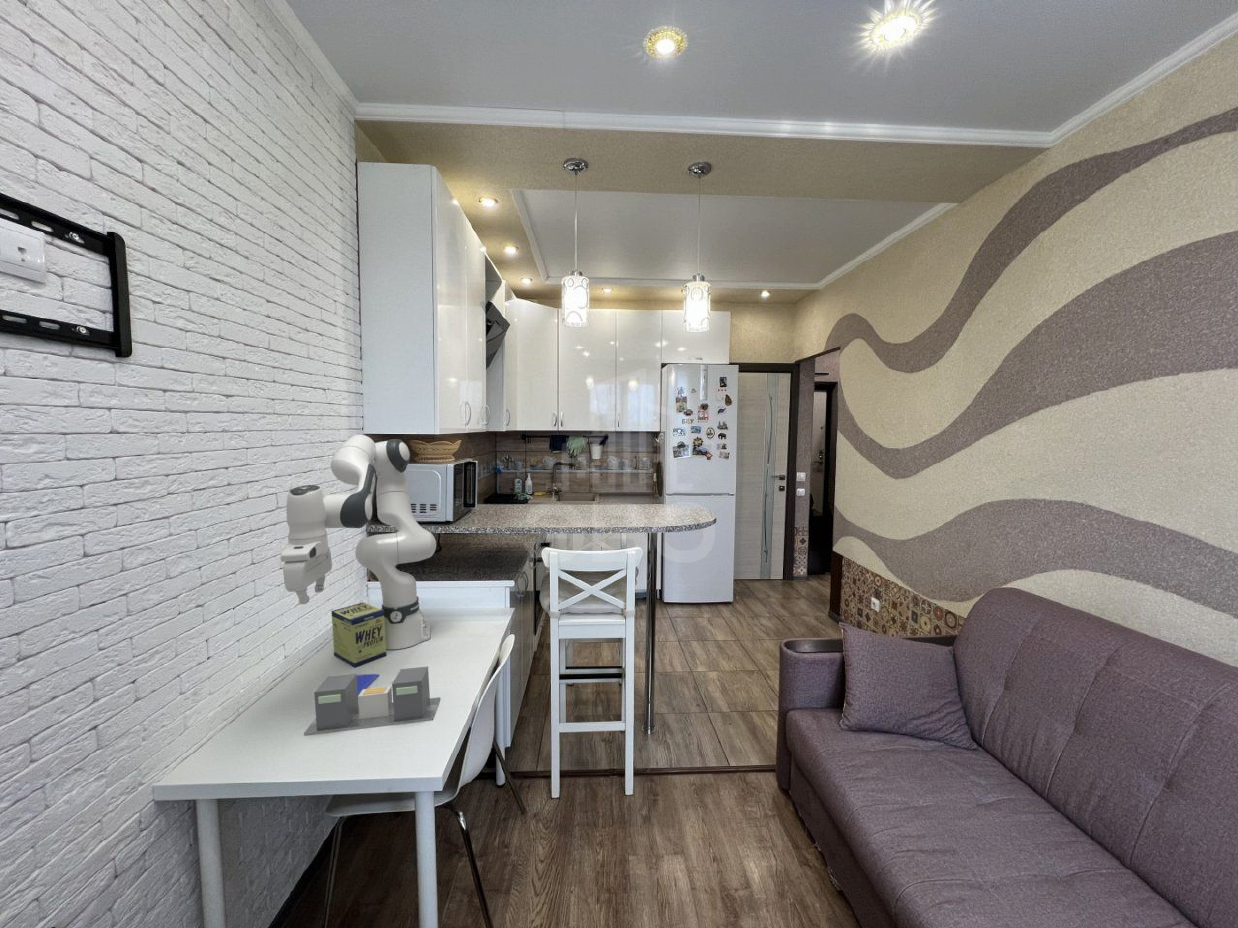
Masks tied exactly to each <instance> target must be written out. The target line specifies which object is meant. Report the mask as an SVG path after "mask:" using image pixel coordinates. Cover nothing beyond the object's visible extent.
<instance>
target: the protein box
mask: <svg viewBox="0 0 1238 928" xmlns="http://www.w3.org/2000/svg"><path fill="white" fill-rule="evenodd" d="M381 609H382V608H378V607H376V606H373V605H371V604H368V603H366V602H359V603H356V604H352V605H348V606H345V607H340V608H338V609H334V610H332V611H330V612H331V625H332V626H331V627H332V642H333V656H334V657H336V658H337V659H339V660H341V661H343V662H344V663H346V664H347V665H349V666H351V667H353V668H357V667H359V666H362V665H365V664H368V663H371V662H374V661H376V660H378V659H382V658H384V657H386V656H387V649H386V642H385V624H384V610H381Z"/></svg>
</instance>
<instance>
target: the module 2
mask: <svg viewBox="0 0 1238 928" xmlns="http://www.w3.org/2000/svg"><path fill="white" fill-rule="evenodd" d="M429 675H430V673H429V666H420V667H418V666H417V667H408V668H400V669H399V671H398V673H397V675H396V677H395V678H394V680H393V682H392V683H391V685H392V686H391V689H392V703H393V708H394V720H399V719H408V718H416V717H423V716H424V714H425V711H426V709H427V706H428V704H429V701H430V698H431V695H430V693H431V692H430V677H429Z"/></svg>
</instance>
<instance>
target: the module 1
mask: <svg viewBox="0 0 1238 928" xmlns="http://www.w3.org/2000/svg"><path fill="white" fill-rule="evenodd" d="M357 675H358V674H357V673H351V674H343V675H342V674H340V675H331V676H327V677H326V678H325V679H324V681H323V682H322V683H321V684H320V685H319V686H318V687H317V688H316V690H315V691H314V692H313V693H314V705H315V706H314V709H315V718H316V725H317V729H323V728H332V727H340V726H347V725H348V724H349V722H350V721H351V719H352V718H353V716H354V715H355V713H356V712H357V710H358V709H359V703H358V688H357Z"/></svg>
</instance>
